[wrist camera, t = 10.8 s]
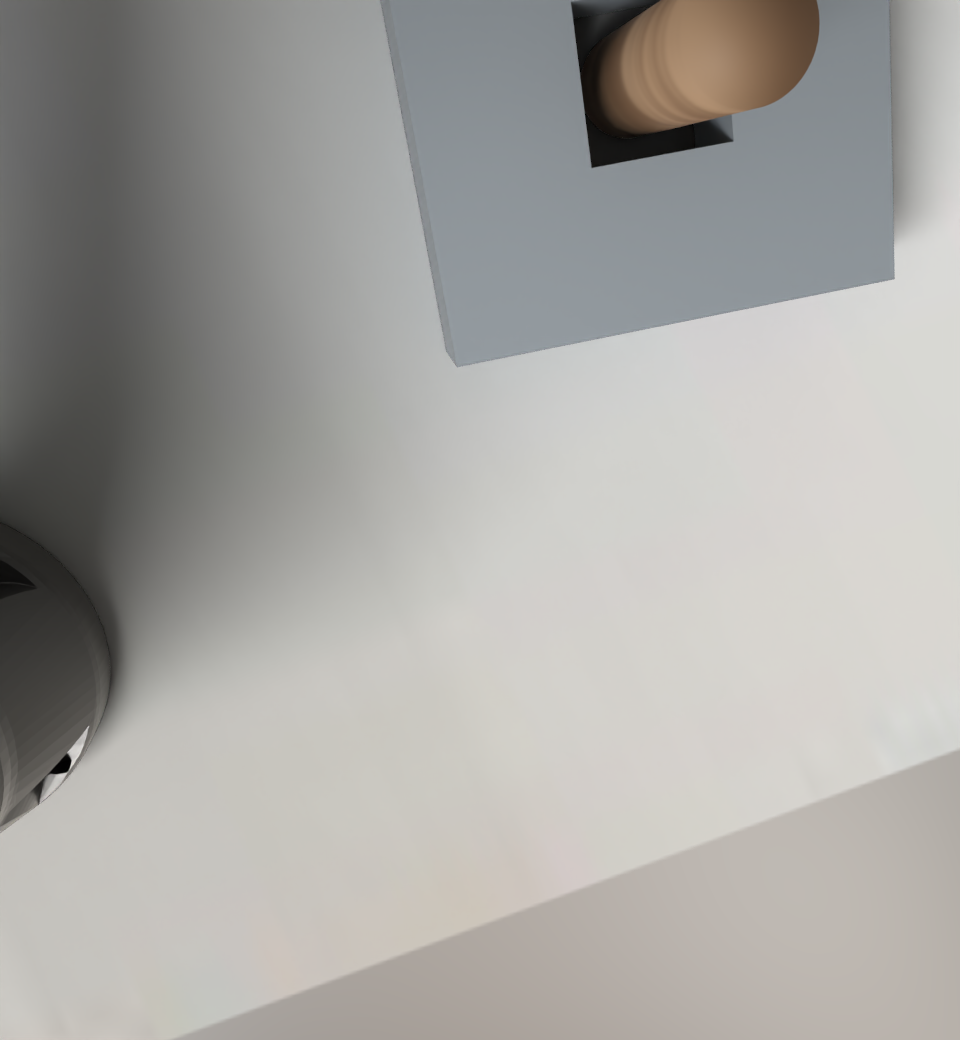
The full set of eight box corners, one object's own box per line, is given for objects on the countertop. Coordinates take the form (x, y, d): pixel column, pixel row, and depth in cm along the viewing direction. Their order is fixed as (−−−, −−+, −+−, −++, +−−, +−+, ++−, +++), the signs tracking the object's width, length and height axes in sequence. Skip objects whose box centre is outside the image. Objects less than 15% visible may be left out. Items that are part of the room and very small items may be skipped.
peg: (585, 145, 37) (688, 119, 26) (574, 37, 36) (677, -40, 25) (679, 130, 38) (821, 98, 26) (671, 22, 36) (817, -60, 25)
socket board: (446, 351, 39) (456, 366, 36) (354, -139, 33) (355, -183, 29) (843, 272, 41) (894, 278, 37) (825, -214, 34) (884, -266, 31)
